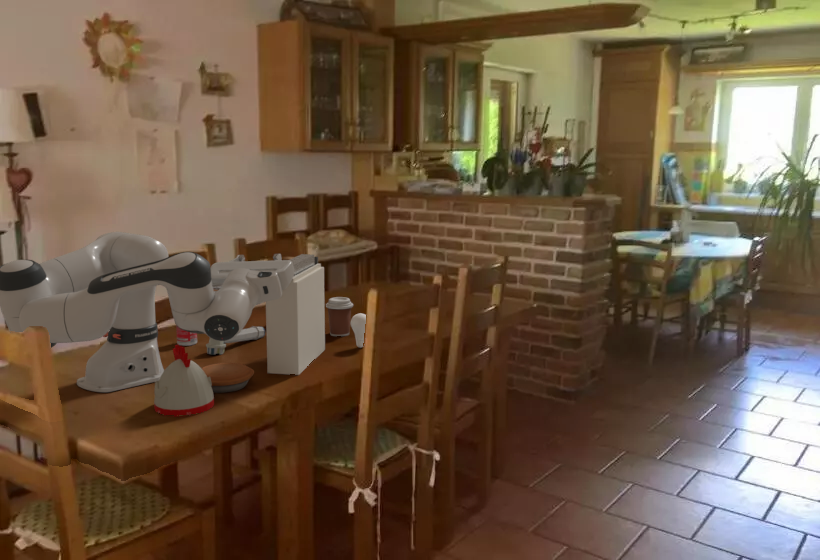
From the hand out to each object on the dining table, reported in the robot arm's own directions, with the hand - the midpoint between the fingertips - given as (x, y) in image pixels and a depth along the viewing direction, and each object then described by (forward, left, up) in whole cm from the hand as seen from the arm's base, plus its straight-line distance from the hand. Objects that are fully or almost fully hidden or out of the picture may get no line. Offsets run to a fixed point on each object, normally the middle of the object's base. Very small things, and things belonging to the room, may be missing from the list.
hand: (260, 256), depth 182 cm
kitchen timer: (-18, +9, -36) cm, 41 cm away
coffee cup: (+57, +23, -36) cm, 71 cm away
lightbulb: (+48, +7, -36) cm, 61 cm away
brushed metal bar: (+24, +12, -9) cm, 28 cm away
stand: (+26, +13, -35) cm, 46 cm away
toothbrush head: (+27, +40, -36) cm, 60 cm away
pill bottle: (+19, +54, -36) cm, 68 cm away
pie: (-2, +13, -36) cm, 38 cm away
